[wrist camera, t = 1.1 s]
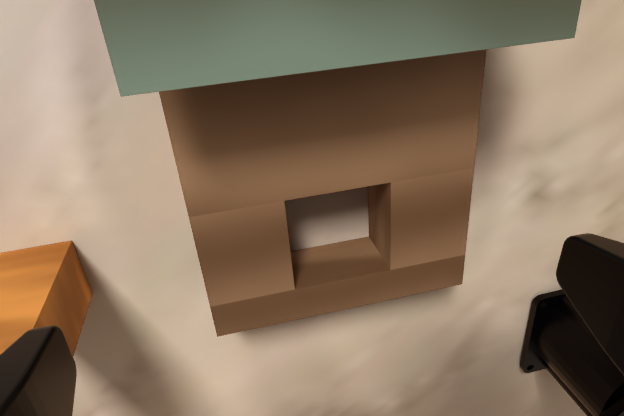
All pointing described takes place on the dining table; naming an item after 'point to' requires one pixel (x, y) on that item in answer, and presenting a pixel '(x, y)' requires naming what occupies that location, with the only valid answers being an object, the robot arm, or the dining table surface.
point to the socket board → (321, 134)
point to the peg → (42, 292)
